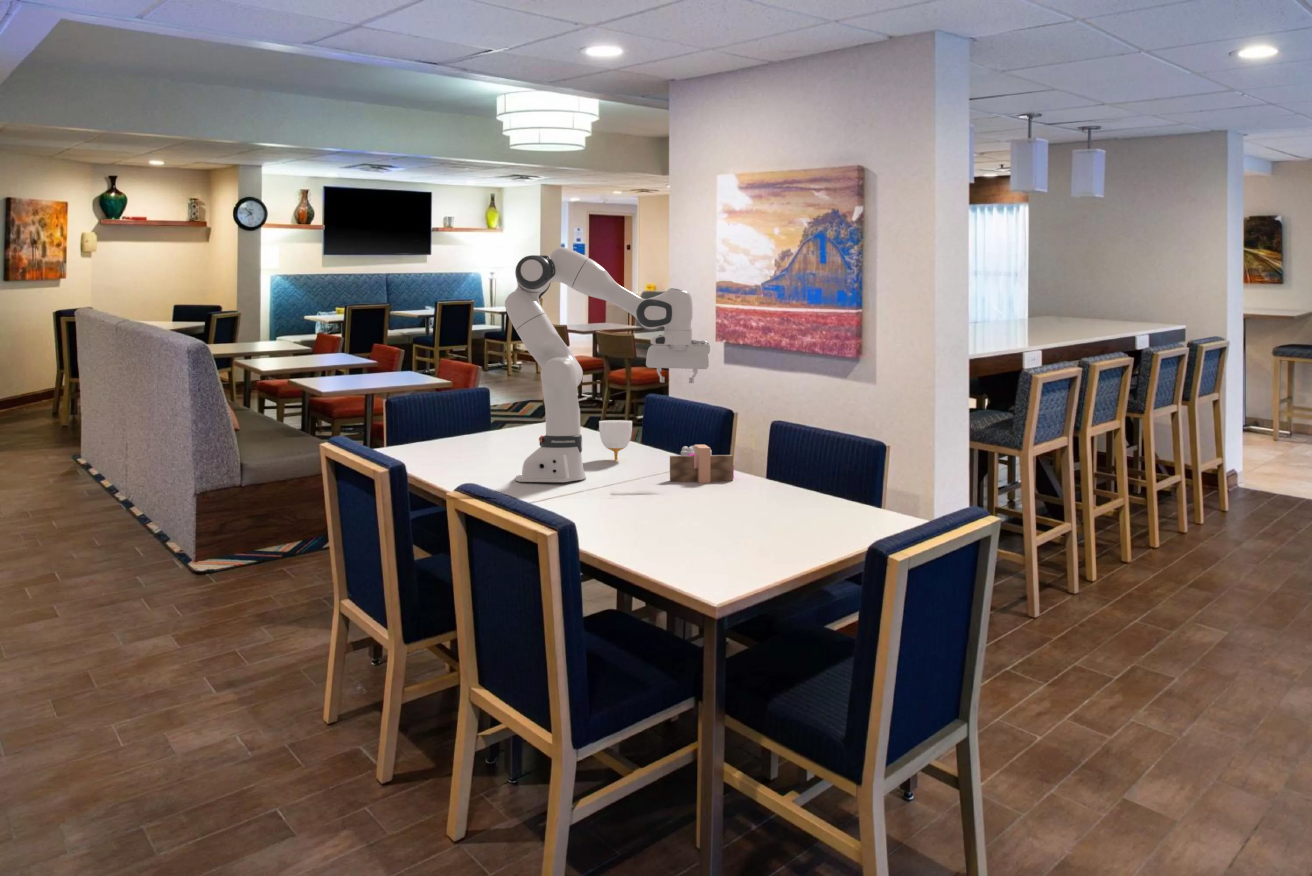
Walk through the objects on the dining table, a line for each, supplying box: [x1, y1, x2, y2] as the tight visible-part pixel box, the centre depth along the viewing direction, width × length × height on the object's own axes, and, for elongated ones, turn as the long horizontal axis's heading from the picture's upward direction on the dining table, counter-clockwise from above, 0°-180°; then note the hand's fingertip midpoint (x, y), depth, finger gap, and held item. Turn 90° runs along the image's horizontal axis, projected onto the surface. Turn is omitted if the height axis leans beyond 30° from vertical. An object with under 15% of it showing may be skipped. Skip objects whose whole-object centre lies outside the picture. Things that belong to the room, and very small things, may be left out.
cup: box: [598, 419, 633, 461], centre depth 341 cm, size 12×12×17 cm
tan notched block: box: [693, 444, 711, 484], centre depth 310 cm, size 4×12×11 cm, turn 5°
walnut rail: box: [669, 454, 734, 482], centre depth 310 cm, size 20×2×8 cm, turn 93°
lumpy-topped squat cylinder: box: [680, 445, 713, 456], centre depth 336 cm, size 10×13×9 cm
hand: (676, 382), depth 313 cm, fingers open, 8 cm apart
